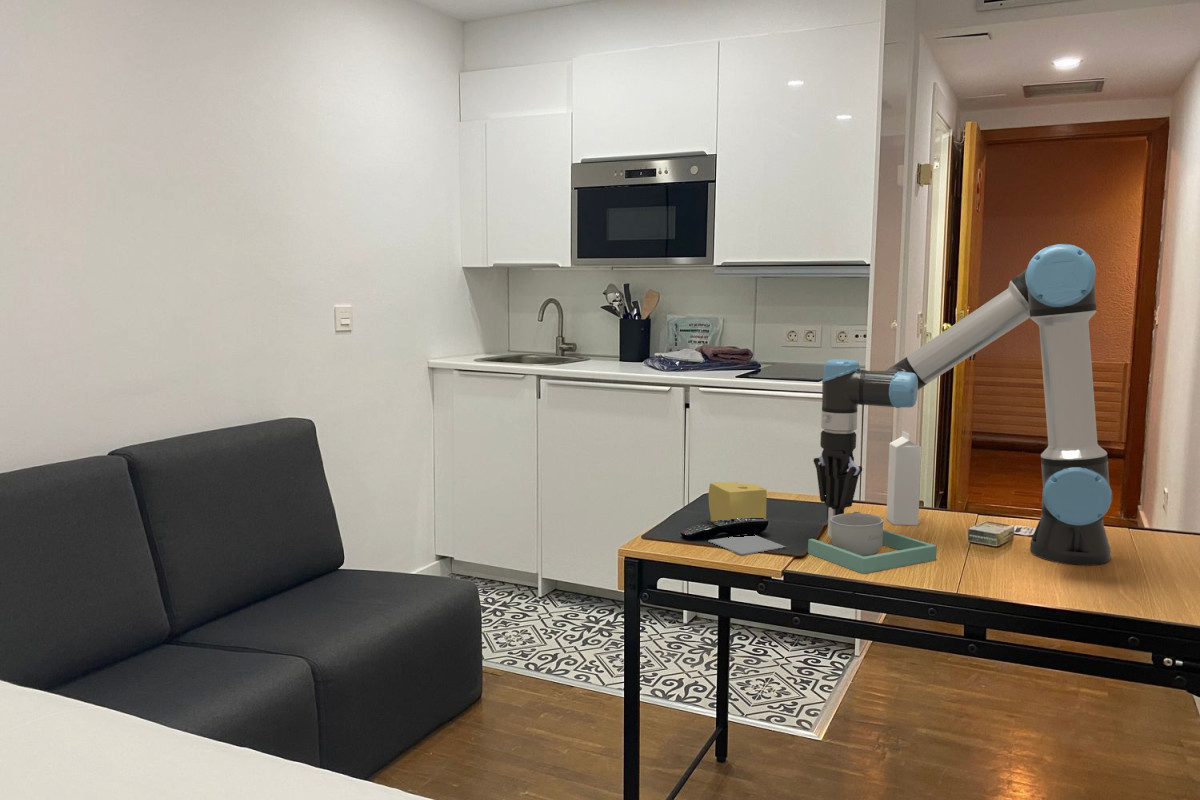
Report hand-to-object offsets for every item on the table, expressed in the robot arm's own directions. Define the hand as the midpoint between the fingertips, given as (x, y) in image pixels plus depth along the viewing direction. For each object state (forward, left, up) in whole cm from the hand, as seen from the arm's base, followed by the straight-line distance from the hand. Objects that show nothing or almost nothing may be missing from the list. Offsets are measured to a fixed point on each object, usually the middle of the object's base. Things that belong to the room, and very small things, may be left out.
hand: (834, 536), depth 203 cm
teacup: (-8, +1, -2) cm, 8 cm away
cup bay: (-11, 0, -2) cm, 11 cm away
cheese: (+22, +10, -2) cm, 24 cm away
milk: (+7, -28, -2) cm, 29 cm away
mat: (+8, +18, -2) cm, 20 cm away
